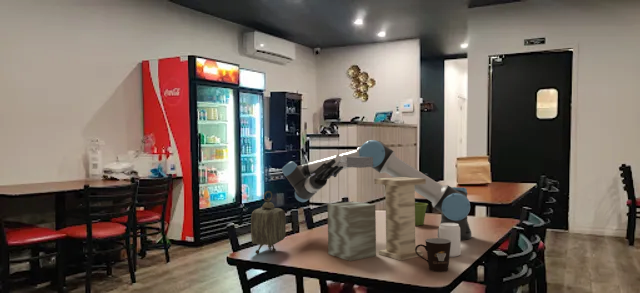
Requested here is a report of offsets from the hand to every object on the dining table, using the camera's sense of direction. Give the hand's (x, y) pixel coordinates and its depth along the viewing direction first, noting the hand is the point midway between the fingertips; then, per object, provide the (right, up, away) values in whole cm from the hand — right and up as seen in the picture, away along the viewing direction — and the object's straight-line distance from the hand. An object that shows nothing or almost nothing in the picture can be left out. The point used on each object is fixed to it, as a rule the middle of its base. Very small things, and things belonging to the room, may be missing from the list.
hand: (342, 157), depth 189 cm
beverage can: (+41, -38, -13) cm, 58 cm away
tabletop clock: (-30, -39, -3) cm, 50 cm away
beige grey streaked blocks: (+13, -38, -11) cm, 42 cm away
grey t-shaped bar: (+2, -4, -3) cm, 5 cm away
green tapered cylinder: (+43, -38, +54) cm, 79 cm away
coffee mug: (+30, -38, -33) cm, 59 cm away
